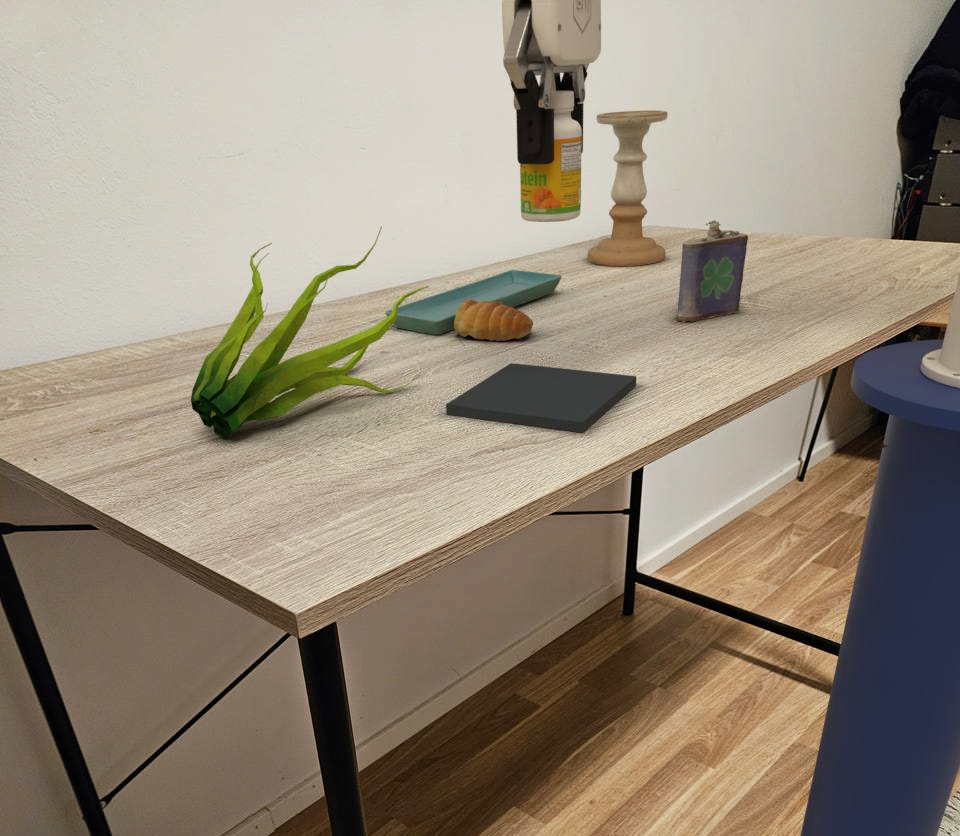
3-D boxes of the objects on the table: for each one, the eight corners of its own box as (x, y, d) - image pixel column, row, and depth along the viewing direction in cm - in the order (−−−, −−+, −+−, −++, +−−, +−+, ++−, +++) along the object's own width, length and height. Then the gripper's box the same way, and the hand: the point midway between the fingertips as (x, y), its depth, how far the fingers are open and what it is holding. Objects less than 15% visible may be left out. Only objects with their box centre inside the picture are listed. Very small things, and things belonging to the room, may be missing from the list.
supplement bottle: (508, 219, 81) (505, 94, 75) (549, 211, 84) (549, 90, 78) (551, 224, 77) (551, 93, 72) (592, 216, 80) (595, 89, 75)
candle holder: (638, 248, 149) (644, 108, 138) (680, 260, 139) (691, 110, 128) (573, 257, 145) (574, 114, 134) (612, 270, 135) (617, 117, 124)
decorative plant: (489, 383, 93) (483, 229, 84) (216, 453, 79) (178, 278, 71) (402, 347, 105) (390, 211, 97) (154, 403, 92) (116, 250, 84)
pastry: (543, 331, 108) (542, 298, 106) (517, 346, 103) (516, 312, 101) (476, 325, 112) (474, 293, 110) (448, 339, 107) (446, 306, 105)
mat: (636, 385, 89) (636, 376, 89) (582, 433, 79) (583, 422, 78) (511, 372, 95) (510, 362, 94) (446, 414, 85) (445, 404, 84)
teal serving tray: (437, 338, 108) (436, 317, 106) (384, 328, 113) (382, 308, 111) (563, 294, 124) (563, 275, 123) (512, 287, 129) (511, 269, 128)
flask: (684, 323, 108) (692, 227, 102) (669, 318, 110) (676, 224, 104) (744, 312, 111) (754, 218, 105) (728, 307, 113) (738, 215, 108)
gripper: (547, -129, 60) (549, 172, 70) (635, -104, 73) (626, 148, 83) (451, -114, 63) (466, 171, 73) (551, -93, 76) (552, 149, 86)
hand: (550, 157), depth 78 cm, fingers closed on supplement bottle, 5 cm apart
